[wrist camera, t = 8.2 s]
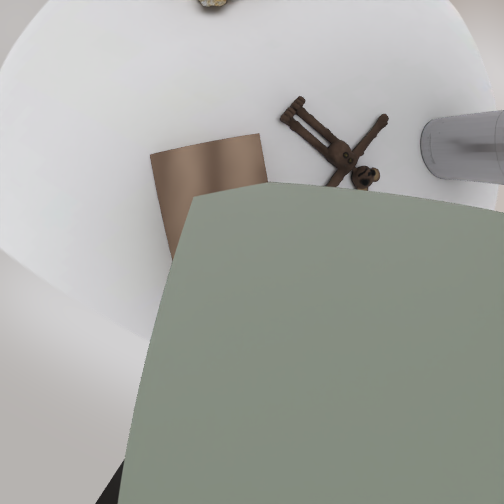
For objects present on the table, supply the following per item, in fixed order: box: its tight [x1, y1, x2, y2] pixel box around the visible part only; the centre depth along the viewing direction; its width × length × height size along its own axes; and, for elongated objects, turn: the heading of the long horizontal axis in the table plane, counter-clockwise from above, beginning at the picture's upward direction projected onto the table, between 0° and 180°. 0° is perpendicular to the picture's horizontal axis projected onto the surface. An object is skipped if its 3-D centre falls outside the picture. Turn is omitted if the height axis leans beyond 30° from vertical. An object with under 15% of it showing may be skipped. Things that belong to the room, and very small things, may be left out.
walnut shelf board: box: [150, 133, 268, 261], centre depth 36 cm, size 12×22×2 cm, turn 11°
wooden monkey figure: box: [280, 96, 389, 191], centre depth 35 cm, size 18×4×14 cm
